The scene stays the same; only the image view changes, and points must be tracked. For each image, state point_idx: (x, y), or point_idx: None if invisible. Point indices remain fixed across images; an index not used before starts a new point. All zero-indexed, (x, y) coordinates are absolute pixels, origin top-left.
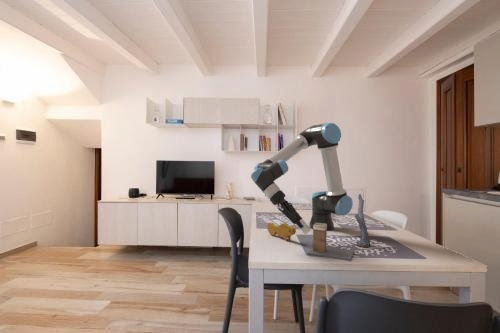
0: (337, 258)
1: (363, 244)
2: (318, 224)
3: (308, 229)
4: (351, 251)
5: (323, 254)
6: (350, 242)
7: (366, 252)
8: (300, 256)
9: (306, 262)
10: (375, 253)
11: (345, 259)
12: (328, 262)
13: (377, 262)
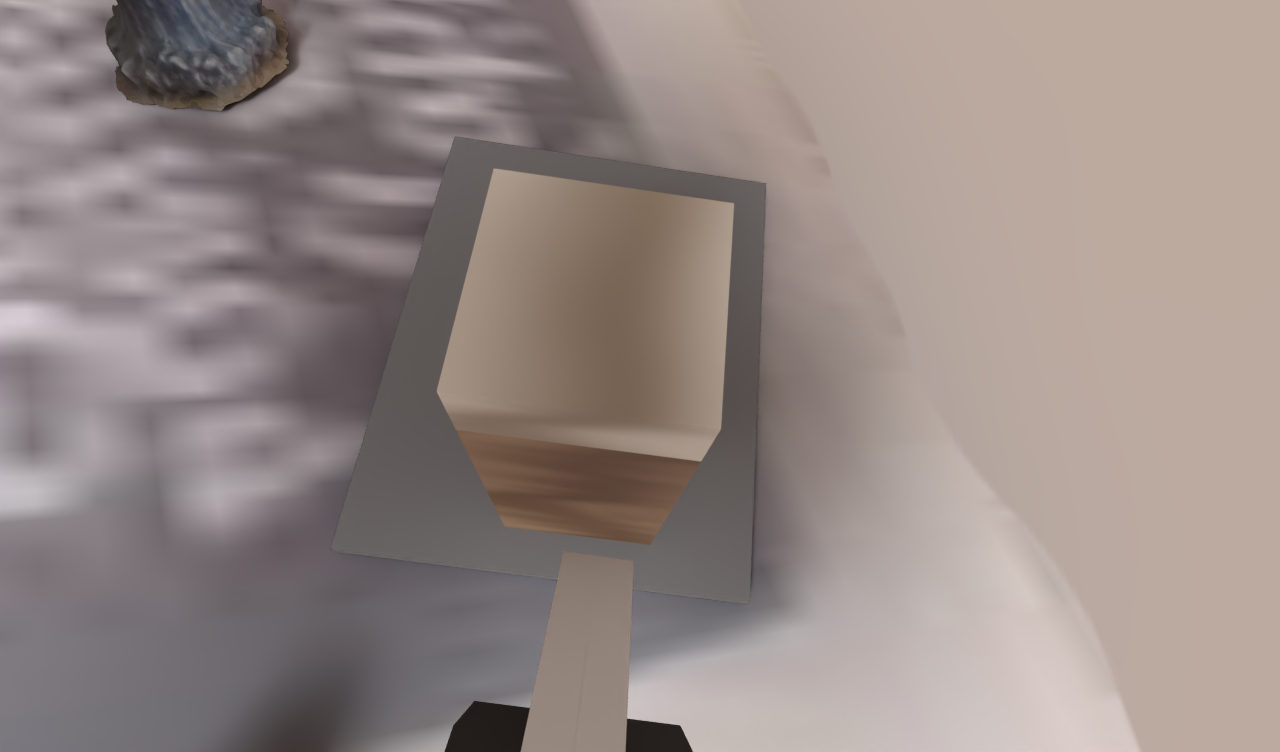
0: (759, 287)
1: (270, 38)
2: (624, 318)
3: (611, 585)
4: (510, 161)
5: (728, 414)
6: (81, 154)
7: (457, 62)
8: (867, 686)
9: (1026, 576)
10: (466, 9)
11: (763, 224)
12: (902, 364)
13: (708, 31)
